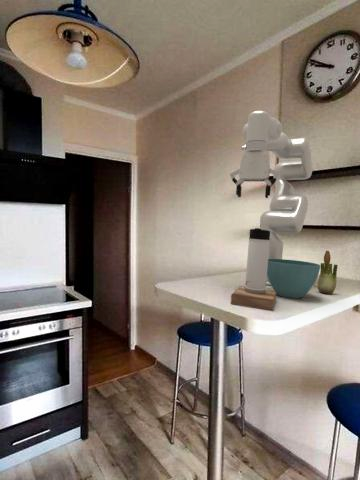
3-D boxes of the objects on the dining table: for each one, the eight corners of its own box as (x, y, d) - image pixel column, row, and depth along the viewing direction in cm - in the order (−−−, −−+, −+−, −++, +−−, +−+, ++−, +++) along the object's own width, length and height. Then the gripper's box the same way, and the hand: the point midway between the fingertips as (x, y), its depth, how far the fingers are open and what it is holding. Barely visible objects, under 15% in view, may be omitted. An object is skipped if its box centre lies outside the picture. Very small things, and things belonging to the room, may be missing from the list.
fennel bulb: (336, 294, 111) (339, 263, 111) (330, 295, 108) (333, 264, 107) (320, 291, 115) (323, 261, 115) (315, 292, 112) (318, 262, 112)
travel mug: (242, 292, 89) (247, 227, 88) (247, 288, 95) (252, 228, 94) (262, 295, 86) (268, 229, 85) (267, 291, 92) (272, 229, 91)
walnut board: (239, 294, 99) (240, 285, 99) (275, 300, 95) (276, 290, 95) (230, 303, 86) (231, 293, 86) (272, 310, 82) (273, 299, 82)
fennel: (323, 289, 120) (326, 251, 120) (310, 284, 128) (313, 249, 128) (340, 289, 122) (343, 252, 121) (326, 285, 130) (329, 250, 129)
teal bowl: (268, 287, 116) (270, 257, 115) (318, 295, 107) (321, 262, 107) (258, 295, 100) (261, 260, 99) (316, 305, 91) (319, 267, 91)
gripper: (230, 146, 102) (226, 195, 102) (281, 144, 95) (277, 196, 96) (234, 152, 109) (230, 197, 109) (282, 150, 102) (278, 199, 103)
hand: (252, 197), depth 103 cm, fingers open, 9 cm apart
